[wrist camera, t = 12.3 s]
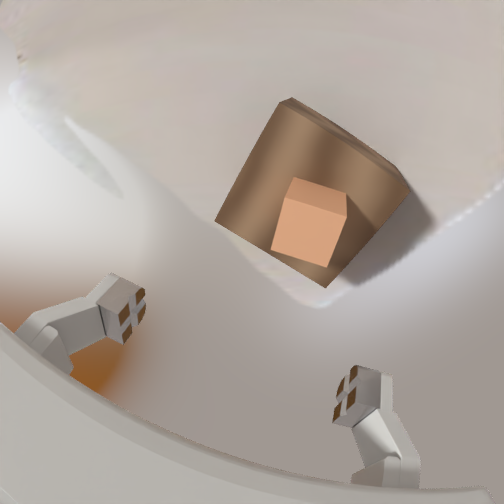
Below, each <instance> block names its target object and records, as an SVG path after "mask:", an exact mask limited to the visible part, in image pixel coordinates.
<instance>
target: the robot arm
mask: <svg viewBox="0 0 504 504" xmlns="http://www.w3.org/2000/svg"><path fill="white" fill-rule="evenodd" d="M144 296H145V289H144V288H142V287H140V286H138V285H136V284H134V283H132V282H129V281H128V280H125V279H123V278H121V277H119V276H117V275H115V274H113V273H110V274H108V275H107V276H106V277H105V278H104V279H103V280H102V281H101V282H100V283H99V284H98V285H97V286H96V287H95V288H94V289H93V290H92V291H91V292H90V293H89V294H88V295H87V297H86V298H84V297H80V298H77V299H73V300H70V301H68V302H64V303H62V304H58V305H55V306H52V307H49V308H46V309H43V310H40V311H37V312H34V313H33V314H32V315H31V316H30V317H29V318H28V319H27V320H26V321H25V322H24V323H23V324H22V325H21V326H20V327H19V329H18V330H17V331H16V332H15V333H12V332H11V331H10V330H9V329H8V328H7V327H5V326H4V325H3V324H2V323H1V322H0V504H495V502H494V500H493V498H492V496H491V494H490V492H489V491H488V490H487V488H486V487H484V486H474V487H461V488H440V489H419V480H420V462H421V461H420V460H421V458H420V457H419V455H418V453H417V451H416V449H415V447H414V445H413V443H412V441H411V440H410V438H409V436H408V434H407V432H406V430H405V428H404V427H403V425H402V423H401V421H400V419H399V417H398V415H397V414H396V412H393V377H392V375H391V374H388V373H384V372H380V371H378V370H374V369H370V368H366V367H362V366H359V365H355V366H353V367H352V368H351V370H350V375H347V376H345V377H344V378H343V379H342V381H341V382H340V385H339V387H338V390H337V395H336V399H337V401H338V403H339V404H338V405H337V406H336V407H335V409H334V415H333V422H332V423H334V424H338V425H342V426H346V427H350V428H352V431H353V434H354V437H355V440H356V443H357V445H358V448H359V451H360V454H361V457H362V460H363V463H364V466H365V469H362V470H360V471H358V472H356V473H354V474H353V475H352V477H351V483H344V482H337V481H331V480H325V479H320V478H315V477H309V476H305V475H300V474H296V473H291V472H287V471H283V470H279V469H275V468H272V467H268V466H264V465H261V464H257V463H254V462H251V461H247V460H244V459H241V458H238V457H235V456H232V455H229V454H226V453H223V452H220V451H217V450H215V449H212V448H209V447H207V446H204V445H202V444H199V443H196V442H194V441H192V440H189V439H187V438H184V437H182V436H179V435H177V434H175V433H173V432H170V431H168V430H166V429H164V428H162V427H160V426H157V425H155V424H153V423H151V422H149V421H147V420H145V419H143V418H141V417H139V416H137V415H135V414H133V413H131V412H129V411H127V410H126V409H124V408H122V407H120V406H118V405H117V404H114V403H113V402H111V401H110V400H108V399H106V398H104V397H102V396H101V395H99V394H98V393H96V392H94V391H93V390H91V389H89V388H88V387H86V386H85V385H83V384H81V383H80V382H78V381H77V380H75V379H74V378H72V377H71V376H69V374H70V373H71V371H72V370H73V364H72V362H71V360H70V358H69V355H71V354H73V353H74V352H77V351H79V350H81V349H83V348H85V347H87V346H89V345H91V344H93V343H95V342H97V341H99V340H101V339H103V338H105V337H106V336H107V337H109V338H111V339H113V340H115V341H117V342H119V343H121V344H123V345H124V344H125V342H126V341H127V339H128V338H129V337H130V335H131V334H132V327H134V326H137V325H139V323H140V322H141V320H142V318H143V316H144V314H145V310H146V303H145V301H144V300H143V297H144Z"/></svg>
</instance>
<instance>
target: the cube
mask: <svg viewBox="0 0 504 504" xmlns="http://www.w3.org/2000/svg"><path fill="white" fill-rule="evenodd" d="M346 218H347V205H346V193H343V192H340V191H337V190H334V189H331V188H328V187H325V186H322V185H319V184H315V183H312V182H309V181H306V180H302V179H299V178H296V177H294V178H293V180H292V182H291V184H290V186H289V189H288V191H287V193H286V195H285V198H284V202H283V205H282V209H281V213H280V217H279V220H278V224H277V228H276V231H275V235H274V239H273V243H272V246H271V250H273V251H276V252H279V253H282V254H285V255H289V256H292V257H295V258H298V259H301V260H304V261H308V262H311V263H314V264H317V265H320V266H323V267H326V268H327V266H328V263H329V261H330V258H331V256H332V254H333V251H334V249H335V246H336V244H337V241H338V239H339V236H340V234H341V231H342V228H343V226H344V223H345V221H346Z"/></svg>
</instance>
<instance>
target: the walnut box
mask: <svg viewBox="0 0 504 504" xmlns="http://www.w3.org/2000/svg"><path fill="white" fill-rule="evenodd" d="M294 177H296V178H299V179H302V180H306V181H309V182H312V183H315V184H319V185H322V186H325V187H328V188H331V189H334V190H337V191H340V192H343V193H346V205H347V218H346V221H345V223H344V226H343V228H342V231H341V234H340V236H339V239H338V241H337V244H336V246H335V249H334V251H333V254H332V256H331V258H330V261H329V263H328V266H327V268H326V267H323V266H320V265H317V264H314V263H311V262H308V261H304V260H301V259H298V258H295V257H292V256H289V255H285V254H282V253H279V252H276V251H273V250H271V246H272V243H273V239H274V235H275V231H276V228H277V224H278V220H279V217H280V213H281V209H282V205H283V202H284V198H285V195H286V193H287V191H288V189H289V186H290V184H291V182H292V180H293V178H294ZM409 192H410V190H409V188H408V186H407V184H406V183H405V181H404V179H403V177H402V176H401V174H400V172H399V171H398V169H397V167H396V166H394V165H393V164H392V163H390V162H389V161H388V160H386V159H385V158H384V157H382V156H381V155H380V154H378V153H377V152H376V151H374V150H373V149H372V148H370V147H369V146H367V145H366V144H365V143H363V142H362V141H360V140H359V139H357V138H356V137H355V136H353V135H352V134H350V133H349V132H347V131H346V130H344V129H343V128H341V127H340V126H338V125H337V124H335V123H334V122H332V121H330V120H329V119H327V118H326V117H324V116H322V115H321V114H319V113H318V112H316V111H314V110H313V109H311V108H309V107H308V106H306V105H304V104H303V103H301V102H299V101H297V100H296V99H294V98H289V99H287V100H284V101H282V102H279V104H278V106H277V107H276V109H275V111H274V113H273V114H272V116H271V118H270V119H269V121H268V123H267V125H266V126H265V128H264V130H263V132H262V134H261V135H260V137H259V139H258V141H257V142H256V144H255V146H254V148H253V150H252V151H251V153H250V155H249V157H248V159H247V160H246V162H245V164H244V166H243V168H242V170H241V171H240V173H239V175H238V177H237V179H236V181H235V183H234V184H233V186H232V188H231V190H230V192H229V194H228V196H227V198H226V200H225V201H224V203H223V205H222V207H221V209H220V211H219V213H218V215H217V217H216V219H215V222H217V223H218V224H220V225H222V226H223V227H225V228H227V229H228V230H230V231H232V232H233V233H235V234H237V235H238V236H240V237H242V238H243V239H245V240H247V241H248V242H250V243H252V244H253V245H255V246H257V247H258V248H260V249H262V250H263V251H265V252H267V253H268V254H270V255H271V256H273V257H275V258H276V259H278V260H280V261H281V262H283V263H285V264H286V265H288V266H290V267H291V268H293V269H295V270H296V271H298V272H300V273H301V274H303V275H304V276H306V277H308V278H309V279H311V280H313V281H314V282H316V283H318V284H319V285H321V286H323V287H324V288H326V287H327V286H328V285H329V284H330V283H331V282H332V281H333V280H334V279H335V278H336V277H337V276H338V274H339V273H340V272H341V271H342V270H343V269H344V268H345V267H346V266H347V265H348V264H349V262H350V261H351V260H352V259H353V258H354V257H355V256H356V255H357V254H358V252H359V251H360V250H361V249H362V248H363V247H364V246H365V245H366V243H367V242H368V241H369V240H370V239H371V238H372V237H373V235H374V234H375V233H376V232H377V231H378V230H379V228H380V227H381V226H382V225H383V224H384V223H385V221H386V220H387V219H388V218H389V217H390V215H391V214H392V213H393V212H394V211H395V209H396V208H397V207H398V206H399V205H400V203H401V202H402V201H403V200H404V198H405V197H406V196H407V195H408V194H409Z"/></svg>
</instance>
